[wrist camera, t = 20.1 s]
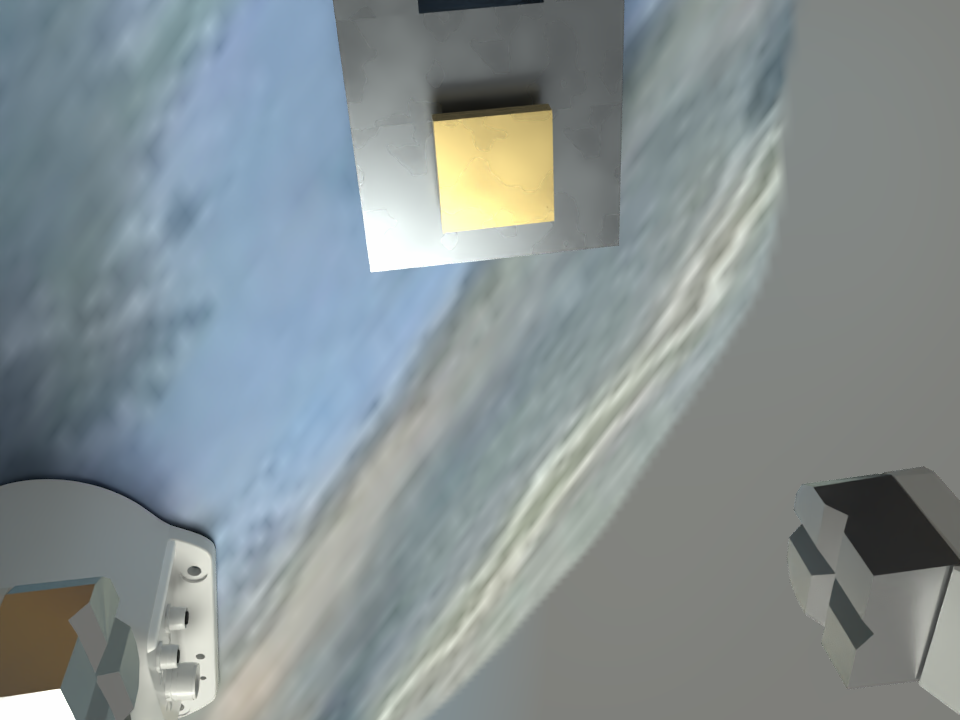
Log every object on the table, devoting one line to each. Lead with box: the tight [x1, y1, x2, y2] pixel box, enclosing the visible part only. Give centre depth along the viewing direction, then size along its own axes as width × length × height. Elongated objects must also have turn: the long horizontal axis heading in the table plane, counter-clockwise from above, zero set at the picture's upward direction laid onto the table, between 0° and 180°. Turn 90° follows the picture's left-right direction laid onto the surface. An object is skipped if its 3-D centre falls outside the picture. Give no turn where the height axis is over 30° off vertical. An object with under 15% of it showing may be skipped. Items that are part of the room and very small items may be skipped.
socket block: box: [333, 0, 624, 272], centre depth 40 cm, size 20×12×6 cm, turn 4°
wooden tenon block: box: [432, 103, 554, 233], centre depth 42 cm, size 5×5×8 cm
